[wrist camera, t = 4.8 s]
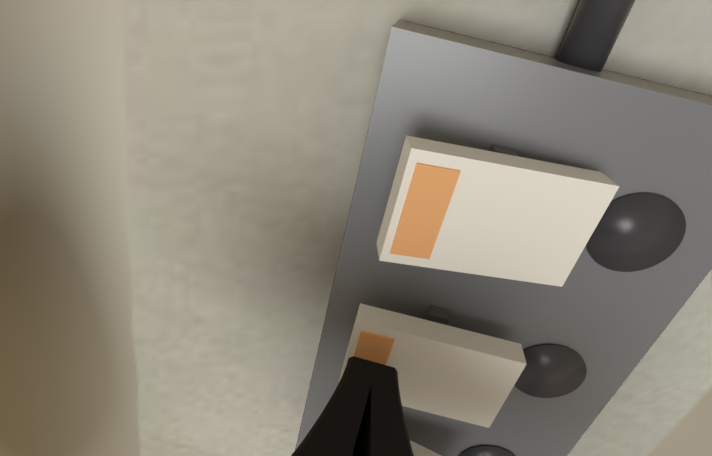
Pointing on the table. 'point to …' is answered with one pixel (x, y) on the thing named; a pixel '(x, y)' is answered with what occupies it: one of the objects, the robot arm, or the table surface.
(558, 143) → the power strip
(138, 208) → the table surface
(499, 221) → the rocker
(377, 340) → the rocker
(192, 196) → the table surface
